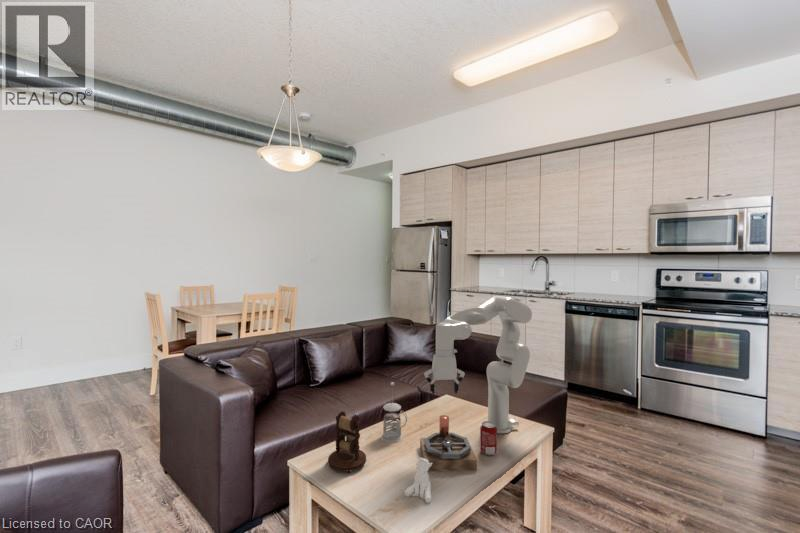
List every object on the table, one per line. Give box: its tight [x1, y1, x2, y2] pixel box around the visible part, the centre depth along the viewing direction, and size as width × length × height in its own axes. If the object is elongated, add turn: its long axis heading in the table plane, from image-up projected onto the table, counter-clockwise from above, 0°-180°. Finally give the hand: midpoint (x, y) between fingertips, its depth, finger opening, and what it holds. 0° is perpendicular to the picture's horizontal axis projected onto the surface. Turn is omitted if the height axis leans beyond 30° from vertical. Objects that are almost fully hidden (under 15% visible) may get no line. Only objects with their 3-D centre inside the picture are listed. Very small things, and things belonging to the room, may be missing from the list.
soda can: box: [479, 420, 498, 456], centre depth 158 cm, size 7×7×12 cm
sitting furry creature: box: [403, 457, 432, 504], centre depth 131 cm, size 10×9×12 cm
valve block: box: [419, 436, 478, 472], centre depth 154 cm, size 20×18×4 cm
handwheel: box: [424, 414, 472, 459], centre depth 154 cm, size 19×18×9 cm
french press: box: [380, 381, 408, 443], centre depth 170 cm, size 10×12×25 cm
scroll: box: [327, 411, 367, 474], centre depth 148 cm, size 15×15×20 cm
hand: (444, 392), depth 160 cm, fingers open, 9 cm apart
